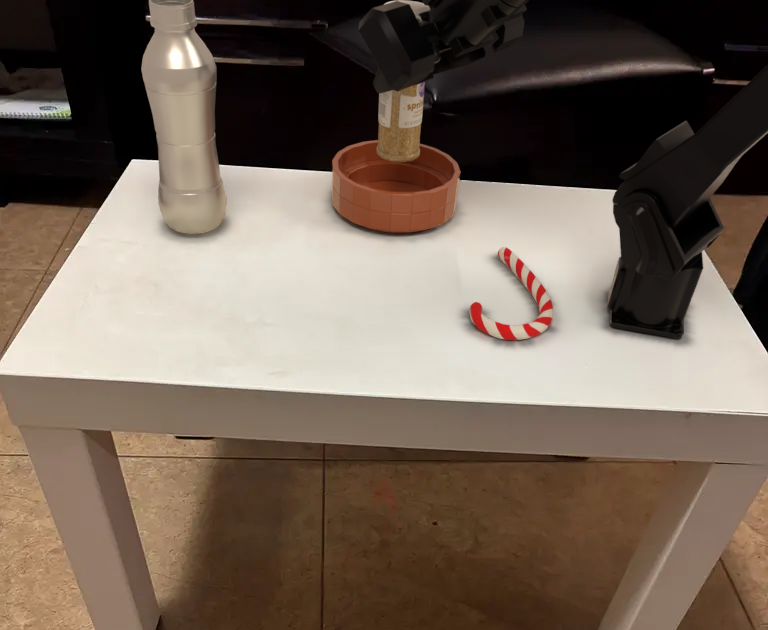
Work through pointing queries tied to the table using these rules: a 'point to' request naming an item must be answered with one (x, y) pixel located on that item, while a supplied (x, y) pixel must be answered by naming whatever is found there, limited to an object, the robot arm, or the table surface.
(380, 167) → the bowl
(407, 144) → the sprinkles bottle
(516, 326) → the candy cane
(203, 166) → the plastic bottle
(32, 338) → the table surface
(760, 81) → the robot arm
